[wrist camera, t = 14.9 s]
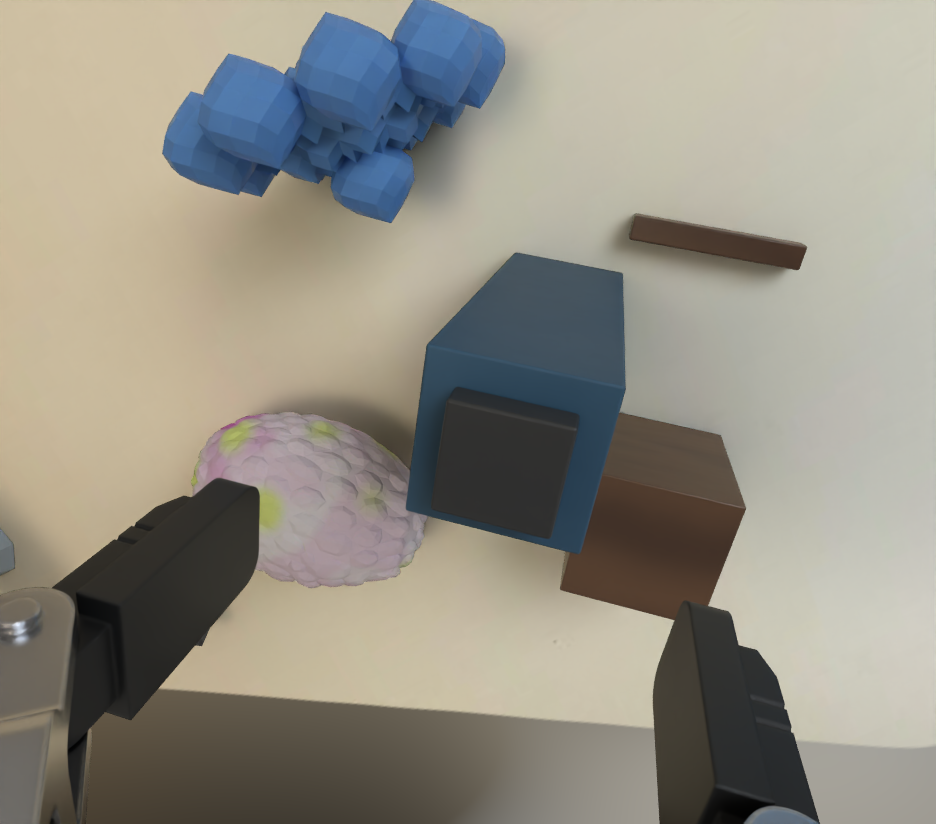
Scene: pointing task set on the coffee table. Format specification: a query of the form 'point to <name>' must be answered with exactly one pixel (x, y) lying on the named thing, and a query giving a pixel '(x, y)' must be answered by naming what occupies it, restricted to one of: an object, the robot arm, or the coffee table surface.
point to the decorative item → (318, 497)
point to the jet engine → (6, 554)
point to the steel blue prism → (522, 403)
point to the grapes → (338, 108)
